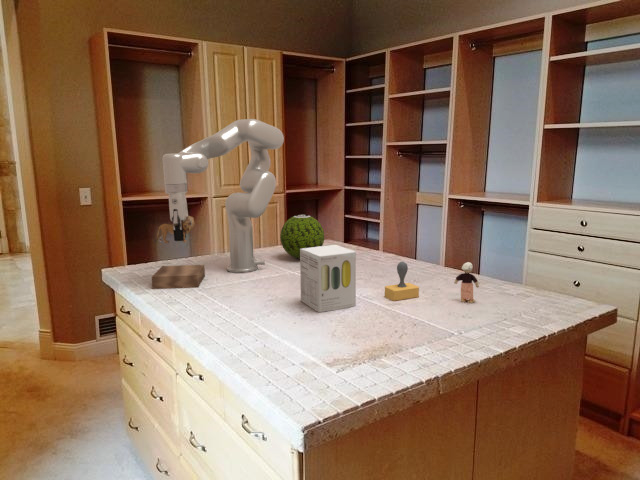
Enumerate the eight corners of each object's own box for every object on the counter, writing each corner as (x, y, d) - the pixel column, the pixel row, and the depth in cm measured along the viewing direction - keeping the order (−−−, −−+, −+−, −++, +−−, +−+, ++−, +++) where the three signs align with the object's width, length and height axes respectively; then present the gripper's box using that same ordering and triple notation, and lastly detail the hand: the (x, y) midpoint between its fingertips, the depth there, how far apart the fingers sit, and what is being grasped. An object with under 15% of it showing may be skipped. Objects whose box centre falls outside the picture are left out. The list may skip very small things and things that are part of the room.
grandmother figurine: (478, 300, 150) (480, 261, 147) (478, 304, 146) (480, 264, 144) (453, 298, 152) (455, 260, 150) (452, 301, 149) (454, 262, 146)
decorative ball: (324, 263, 202) (324, 217, 199) (278, 263, 203) (277, 217, 199) (324, 253, 222) (324, 211, 218) (282, 253, 222) (281, 212, 218)
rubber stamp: (408, 292, 159) (409, 258, 157) (419, 297, 154) (420, 261, 152) (384, 296, 155) (384, 261, 153) (393, 301, 150) (394, 265, 147)
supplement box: (318, 313, 139) (318, 256, 136) (300, 301, 151) (299, 248, 148) (356, 306, 145) (356, 251, 142) (335, 295, 157) (335, 244, 154)
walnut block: (205, 277, 183) (204, 264, 182) (198, 288, 167) (197, 275, 167) (163, 278, 182) (162, 266, 181) (152, 290, 166) (151, 276, 165)
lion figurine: (195, 238, 173) (193, 214, 172) (196, 241, 168) (194, 216, 167) (153, 242, 168) (151, 217, 167) (153, 245, 164) (151, 219, 162)
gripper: (183, 190, 158) (187, 243, 161) (190, 186, 174) (194, 234, 178) (160, 191, 157) (165, 244, 160) (169, 187, 173) (173, 235, 177)
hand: (180, 238), depth 169 cm, fingers closed on lion figurine, 4 cm apart
